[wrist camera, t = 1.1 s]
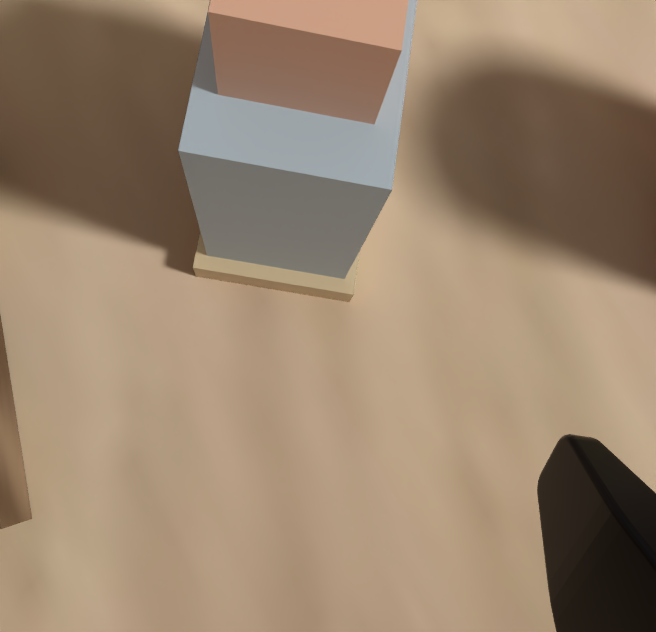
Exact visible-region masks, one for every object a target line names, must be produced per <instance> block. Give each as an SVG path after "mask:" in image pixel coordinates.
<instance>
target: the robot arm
mask: <svg viewBox="0 0 656 632" xmlns="http://www.w3.org/2000/svg"><path fill="white" fill-rule="evenodd" d="M537 493H538V503H539V511H540V520H541V529H542V537H543V546H544V555H545V563H546V572H547V581H548V589H549V595H550V602H551V608H552V613H553V618H554V623H555V627H556V631H557V632H656V493H655V492H654V491H653V490H652V489H650V488H649V487H648V486H647V485H646V484H645V483H644V482H643V481H642V480H641V479H640V478H639V477H638V476H636V475H635V474H634V473H633V472H632V471H631V470H630V469H629V468H628V467H627V466H626V465H625V464H624V463H622V462H621V461H620V460H619V459H618V458H617V457H616V456H615V455H614V454H613V453H612V452H611V451H610V450H608V449H607V448H606V447H605V446H604V445H603V444H602V443H601V442H600V441H598V440H597V439H594V438H591V437H585V436H578V435H571V434H568V435H564V436H563V437H562V438H560V440H559V441H558V443H557V444H556V446H555V448H554V450H553V452H552V454H551V456H550V457H549V459H548V461H547V463H546V465H545V467H544V468H543V470H542V472H541V474H540V477H539V480H538V487H537Z"/></svg>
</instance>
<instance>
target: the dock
mask: <svg viewBox="0 0 656 632" xmlns="http://www.w3.org/2000/svg"><path fill="white" fill-rule="evenodd" d="M29 519H32V515H31V509H30V503H29V496H28V490H27V483H26V477H25V470H24V464H23V458H22V451H21V445H20V438H19V432H18V425H17V419H16V413H15V406H14V400H13V393H12V387H11V381H10V374H9V368H8V361H7V355H6V348H5V342H4V336H3V329H2V323H1V316H0V529H3V528H6V527H9V526H12V525H14V524H17V523H20V522H23V521H26V520H29Z"/></svg>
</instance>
